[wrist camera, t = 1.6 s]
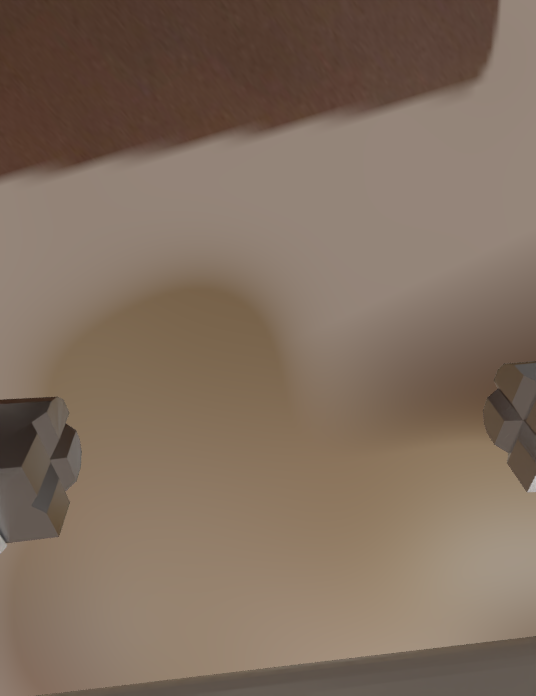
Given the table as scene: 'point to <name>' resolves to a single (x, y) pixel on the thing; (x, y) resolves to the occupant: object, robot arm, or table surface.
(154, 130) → the table surface
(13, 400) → the robot arm
